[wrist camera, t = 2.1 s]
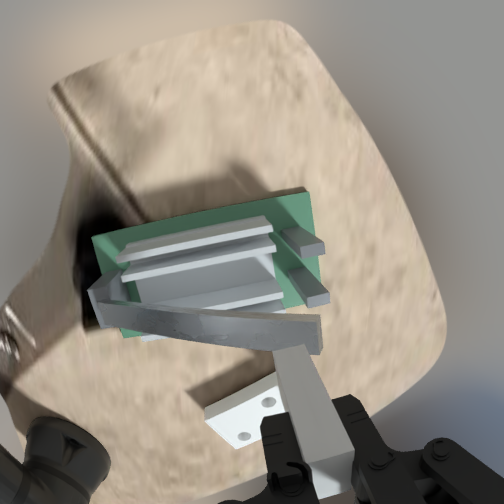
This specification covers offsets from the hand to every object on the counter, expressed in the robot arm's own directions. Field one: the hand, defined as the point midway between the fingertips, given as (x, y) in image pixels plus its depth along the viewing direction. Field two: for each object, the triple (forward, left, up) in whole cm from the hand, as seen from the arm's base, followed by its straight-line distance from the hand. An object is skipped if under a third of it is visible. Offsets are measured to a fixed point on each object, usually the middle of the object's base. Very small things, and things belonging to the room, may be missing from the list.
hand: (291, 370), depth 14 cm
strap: (-6, 0, -8) cm, 10 cm away
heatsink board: (-4, 0, -20) cm, 20 cm away
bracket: (-2, -19, -20) cm, 28 cm away
